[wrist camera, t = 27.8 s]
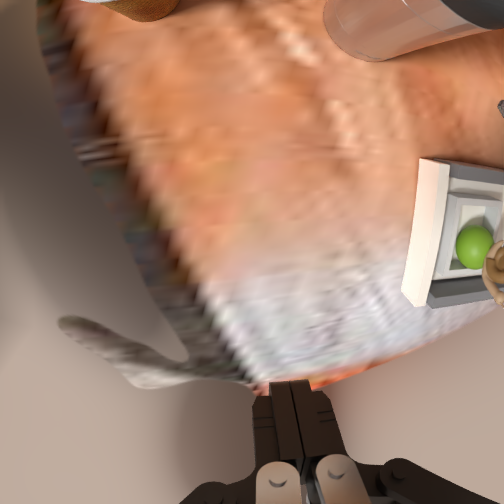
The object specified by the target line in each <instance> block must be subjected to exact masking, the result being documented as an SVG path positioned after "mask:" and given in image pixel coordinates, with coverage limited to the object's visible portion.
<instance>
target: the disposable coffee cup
mask: <svg viewBox="0 0 504 504" xmlns="http://www.w3.org/2000/svg"><path fill="white" fill-rule="evenodd" d="M82 1H86V2H91V3H100V4H102V5H104V6H106V7H108V8H110V9H112V10H115V11H116V12H118V13H121V14H123V15H125V16H127V17H129V18H131V19H132V20H135V21H138V22H151V21H155V20H158V19H161V18H163V17H164V16H166V15H168V14H169V13H170V12H171V11H172V10H173V9H174V8H175V7H176V6H177V4H178V3H179V1H180V0H82Z"/></svg>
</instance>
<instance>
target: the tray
mask: <svg viewBox="0 0 504 504" xmlns="http://www.w3.org/2000/svg"><path fill="white" fill-rule="evenodd" d="M449 172H450V165H448V164H444V163H441V162H437V161H433V160H429V159H421V158H420V160H419V174H418V185H417V194H416V203H415V211H414V219H413V226H412V233H411V239H410V245H409V251H408V257H407V262H406V267H405V273H404V278H403V282H402V287H401V292H402V293H403V294H404V295H405V296H406V297H407V298H408V300H409V301H410V302H411V303H412V304H413V305H414V306H415V307H419V306H425V303H426V300H427V296H428V292H429V288H430V284H431V280H439V279H449V278H458V277H467V276H476V275H482V269H478V270H473V269H469V268H467V267H465V266H464V265H463V264H462V263H461V262H460V261H459V259H458V257H457V255H456V249H455V245H456V240H457V237H458V235H459V233H460V232H461V231H462V230H463V229H464V228H466V227H467V226H470V225H480V226H483V227H485V228H486V229H487V230H488V231H489V232H490V233H491V235H492V237H493V239H494V243H496V242H498V241H500V240H504V185H499V184H492V183H485V182H478V181H470V180H462V179H456V178H453V177H450V176H449ZM503 245H504V243H503ZM503 245H502V247H503Z"/></svg>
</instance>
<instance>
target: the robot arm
mask: <svg viewBox="0 0 504 504" xmlns="http://www.w3.org/2000/svg"><path fill="white" fill-rule="evenodd" d="M323 15H324V23H325V26H326V29H327V31H328V33H329V35H330V37H331V38H332V39H333V41H334V42H335V43H336V44H337V45H338V46H339V47H340V48H341V49H342V50H343V51H345V52H346V53H348V54H349V55H351V56H353V57H355V58H357V59H360V60H364V61H369V62H378V61H384V60H387V59H391V58H394V57H395V56H398V55H402V54H405V53H408V52H411V51H414V50H417V49H421V48H424V47H427V46H431V45H434V44H438V43H441V42H445V41H449V40H453V39H457V38H461V37H465V36H469V35H473V34H477V33H482V32H486V31H491V30H496V29H502V28H504V0H328V1H327V2H326V4H325V7H324V12H323ZM252 420H253V439H254V451H255V466H256V467H255V470H254V471H253V472H252V474H251V475H250V476H248V477H247V478H245V479H244V480H241V481H238V482H235V483H232V484H229V485H226V484H223V483H221V482H207V483H204V484H201V485H200V486H198V487H197V488H196V489H195V490H194V491H193V492H192V493H191V494H189V495H188V496H187V497H186V498H185V499H184V500H183V501H181V502H180V503H179V504H302V502H301V488H300V485H303V484H306V487H307V493H308V494H307V497H306V502H307V504H499V503H497V502H494V501H492V500H490V499H487V498H485V497H482V496H480V495H478V494H476V493H474V492H471V491H469V490H467V489H465V488H463V487H460V486H458V485H456V484H454V483H452V482H450V481H448V480H446V479H444V478H442V477H440V476H438V475H436V474H434V473H432V472H430V471H428V470H425V469H424V468H422V467H420V466H418V465H416V464H414V463H413V462H411V461H409V460H407V459H403V458H395V459H391V460H389V461H388V462H386V463H385V464H384V465H367V464H361V463H358V462H356V461H354V460H353V459H351V458H350V457H349V455H348V454H347V452H346V450H345V447H344V443H343V440H342V437H341V433H340V430H339V427H338V424H337V421H336V418H335V414H334V412H333V408H332V405H331V401H330V399H329V398H328V397H327V396H326V395H325V394H324V393H323V391H315V392H312V391H311V387H310V384H309V381H308V379H305V380H294V381H289V382H288V381H283V382H269V396H257V397H256V399H255V402H254V404H253V406H252Z"/></svg>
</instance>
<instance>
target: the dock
mask: <svg viewBox="0 0 504 504" xmlns="http://www.w3.org/2000/svg"><path fill="white" fill-rule="evenodd" d="M434 161H437V162H441V163H444V164H448V165H450V172H449V176H450V177H453V178H456V179H462V180H470V181H478V182H485V183H492V184H499V185H504V170H503V169H498V168H493V167H487V166H482V165H476V164H470V163H464V162H458V161H451V160H444V159H437V158H434ZM503 246H504V245H503ZM495 284H496V286H497V287H498V289H499V290H500V291H502V292H504V284H499V283H496V282H495ZM488 299H493V296H492V295H491V294H490V292H489V291H488V289H487V288H486V286H485V284H484V281H483V278H482V275H476V276H467V277H458V278H449V279H439V280H431V284H430V288H429V292H428V296H427V300H426V303H427V304H428V305H429V306H430V307H431V308H432V309H435V308H441V307H448V306H454V305H460V304H466V303H472V302H477V301H483V300H488Z"/></svg>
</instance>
